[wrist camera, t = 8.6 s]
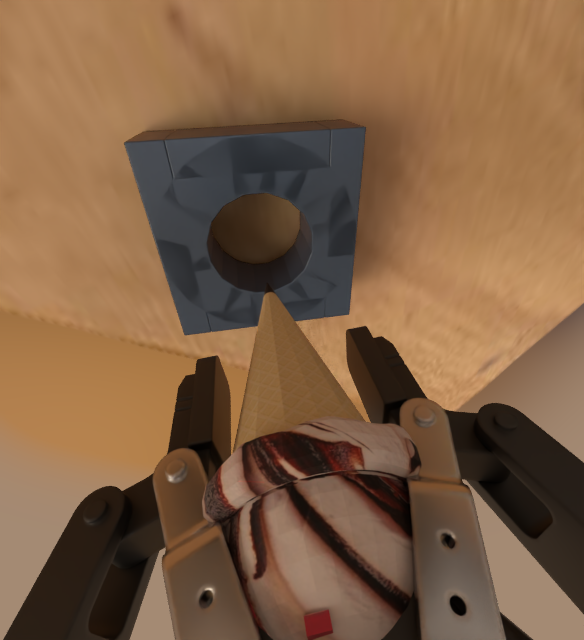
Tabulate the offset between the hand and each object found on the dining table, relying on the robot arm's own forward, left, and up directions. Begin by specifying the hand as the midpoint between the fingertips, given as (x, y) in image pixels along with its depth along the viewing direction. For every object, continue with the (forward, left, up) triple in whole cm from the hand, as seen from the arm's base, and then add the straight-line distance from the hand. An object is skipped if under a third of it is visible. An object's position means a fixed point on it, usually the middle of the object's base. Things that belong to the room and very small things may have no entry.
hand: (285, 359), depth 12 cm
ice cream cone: (0, 0, -6) cm, 6 cm away
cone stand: (0, 0, -15) cm, 15 cm away
